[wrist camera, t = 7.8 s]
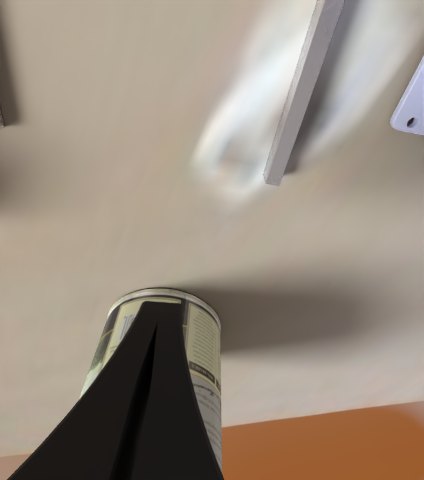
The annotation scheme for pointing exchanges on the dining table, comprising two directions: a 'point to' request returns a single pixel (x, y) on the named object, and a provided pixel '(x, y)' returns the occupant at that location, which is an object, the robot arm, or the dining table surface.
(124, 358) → the robot arm
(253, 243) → the dining table surface
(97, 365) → the coffee can
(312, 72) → the rails
